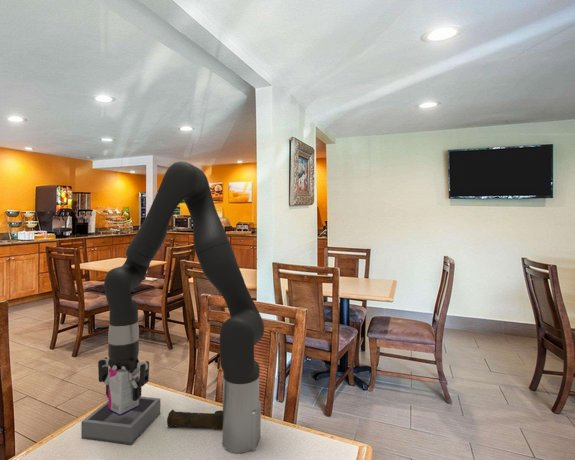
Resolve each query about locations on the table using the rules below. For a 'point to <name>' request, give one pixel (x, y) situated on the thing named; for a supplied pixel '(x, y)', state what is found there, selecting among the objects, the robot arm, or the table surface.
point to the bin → (120, 422)
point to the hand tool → (196, 419)
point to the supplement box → (121, 392)
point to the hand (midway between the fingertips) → (123, 397)
